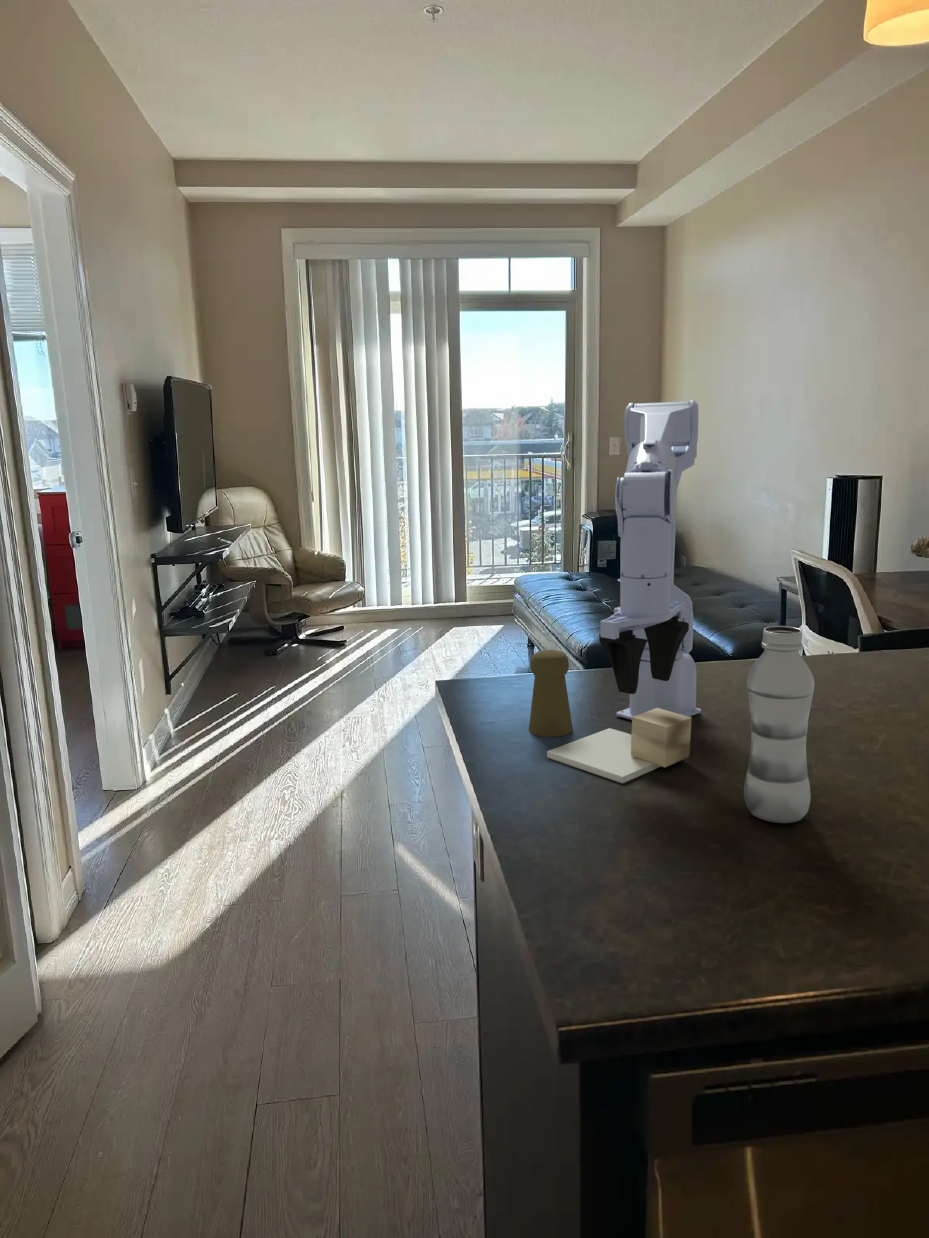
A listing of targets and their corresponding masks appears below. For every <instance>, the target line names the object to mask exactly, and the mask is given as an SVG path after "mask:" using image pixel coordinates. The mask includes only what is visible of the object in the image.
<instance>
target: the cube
mask: <svg viewBox="0 0 929 1238" xmlns="http://www.w3.org/2000/svg"><path fill="white" fill-rule="evenodd" d="M692 718H693V717H692V716H690V717H688V716H684V715H681V714H677V713H674V712H670V711H667V710H663V709H660V708H655V709H652V710H650V711H647V712H644V713H642V714H639V715H636V716H633V717H632V720H631V735H632V737H631V756H633V757H636V758H639V759H642V760H644V761H647V762H650V763H653V764H656V765H659V766H661V767H662V768H667V767H670V766H672V765H674V764H676V763H678V762H681V761H683V760H685V759H687V758H689V757H690V751H691V737H692V736H691V734H692V733H691V732H692Z"/></svg>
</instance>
